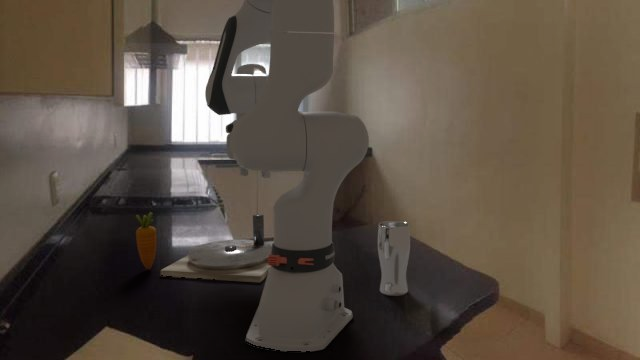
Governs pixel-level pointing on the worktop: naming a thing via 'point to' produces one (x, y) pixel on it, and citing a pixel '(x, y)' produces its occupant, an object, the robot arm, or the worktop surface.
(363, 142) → the robot arm
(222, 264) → the dial
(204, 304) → the worktop surface
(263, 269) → the dial base
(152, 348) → the worktop surface
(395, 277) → the beer glass
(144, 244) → the carrot
